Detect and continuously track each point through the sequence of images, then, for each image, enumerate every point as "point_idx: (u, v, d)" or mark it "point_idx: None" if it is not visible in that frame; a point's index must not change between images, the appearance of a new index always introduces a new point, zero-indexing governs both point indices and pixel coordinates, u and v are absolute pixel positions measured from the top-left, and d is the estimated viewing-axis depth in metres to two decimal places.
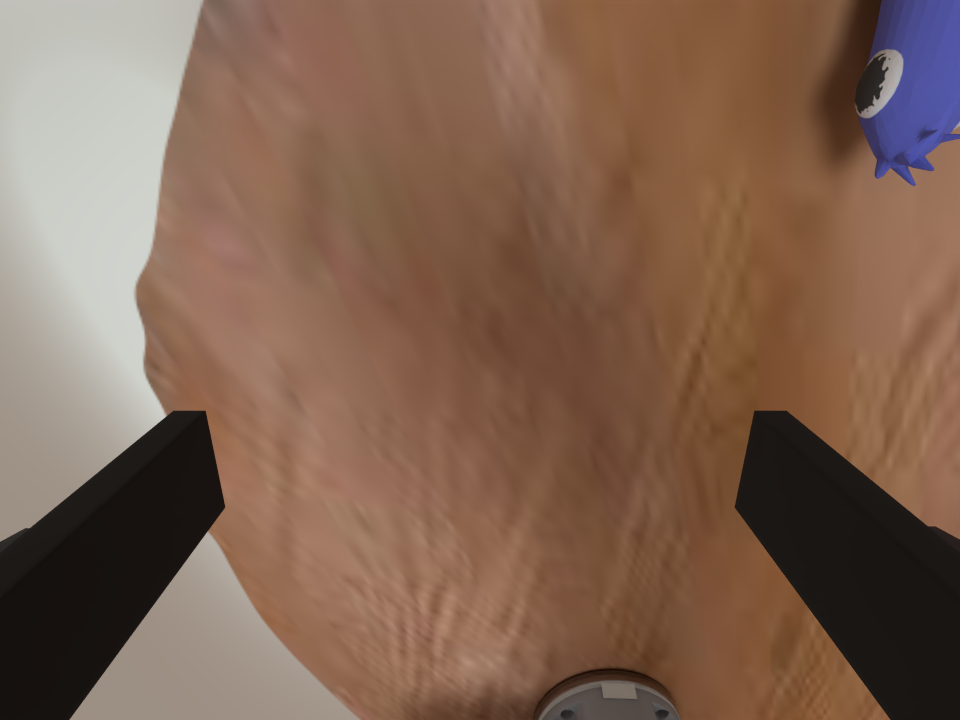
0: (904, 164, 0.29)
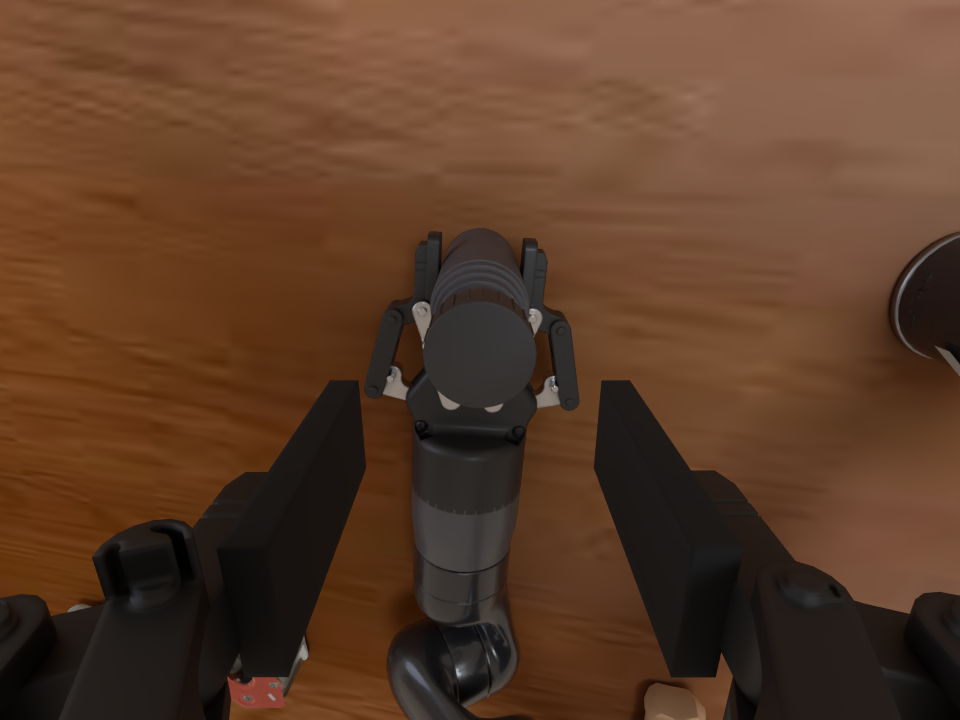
0: None
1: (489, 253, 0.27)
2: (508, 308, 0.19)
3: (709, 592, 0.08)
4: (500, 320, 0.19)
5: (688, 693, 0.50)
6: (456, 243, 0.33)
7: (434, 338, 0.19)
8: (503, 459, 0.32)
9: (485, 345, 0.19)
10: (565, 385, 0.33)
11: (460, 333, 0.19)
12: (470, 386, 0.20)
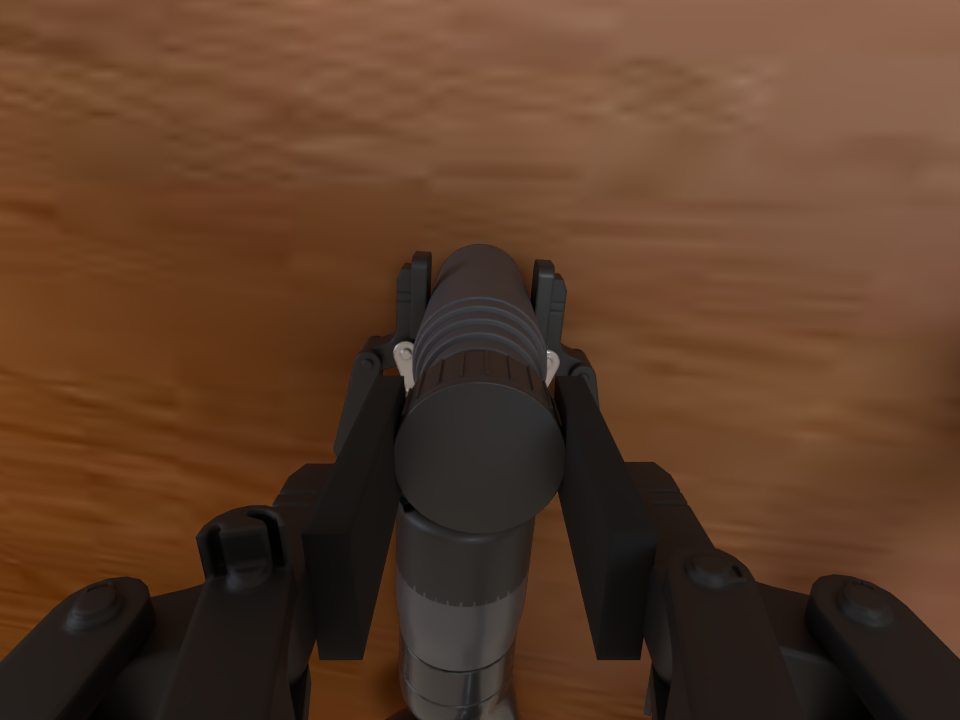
0: None
1: (492, 285, 0.20)
2: (524, 390, 0.12)
3: (628, 576, 0.09)
4: (511, 409, 0.12)
5: None
6: (450, 265, 0.26)
7: (410, 435, 0.13)
8: (509, 538, 0.26)
9: (487, 445, 0.13)
10: None
11: (448, 428, 0.12)
12: (465, 503, 0.13)
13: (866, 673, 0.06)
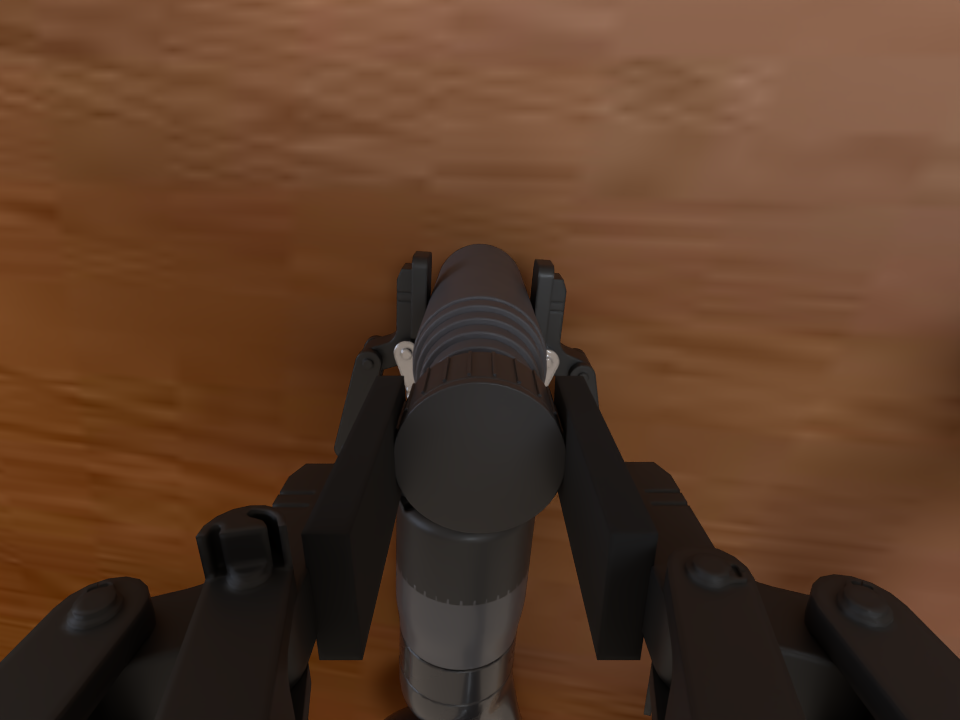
0: None
1: (492, 284, 0.20)
2: (400, 426, 0.13)
3: (628, 576, 0.09)
4: (418, 438, 0.13)
5: None
6: (450, 265, 0.26)
7: (454, 520, 0.13)
8: (509, 537, 0.26)
9: (460, 457, 0.13)
10: None
11: (443, 490, 0.13)
12: (529, 473, 0.13)
13: (866, 673, 0.06)
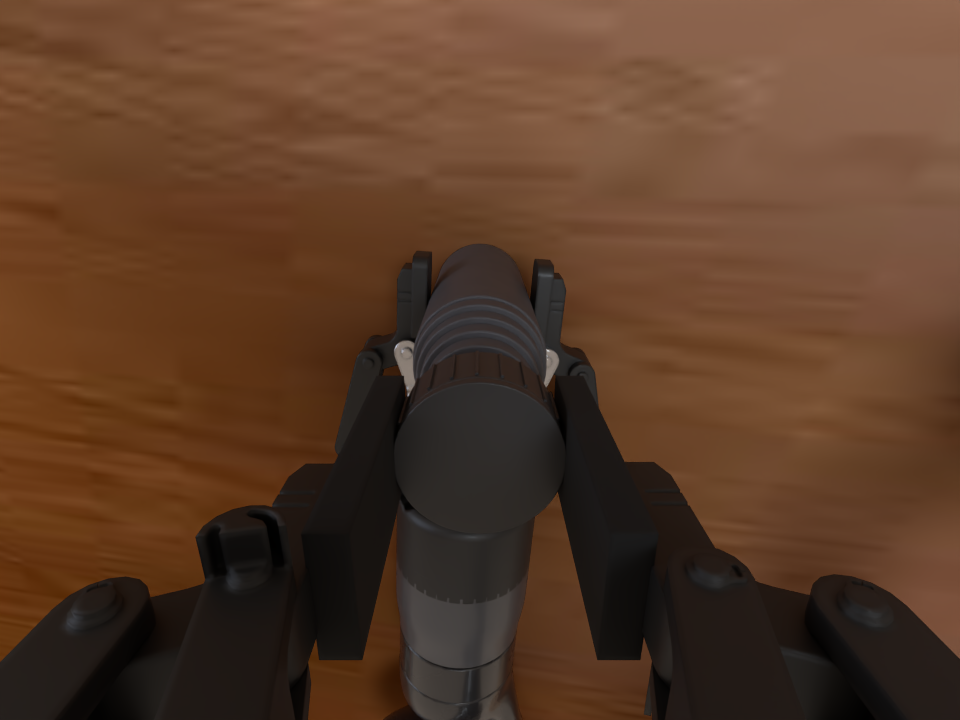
0: None
1: (492, 284, 0.20)
2: None
3: (628, 576, 0.09)
4: (456, 514, 0.13)
5: None
6: (450, 264, 0.26)
7: (549, 481, 0.13)
8: (509, 536, 0.26)
9: (474, 479, 0.13)
10: None
11: (513, 492, 0.13)
12: (489, 417, 0.12)
13: (866, 673, 0.06)
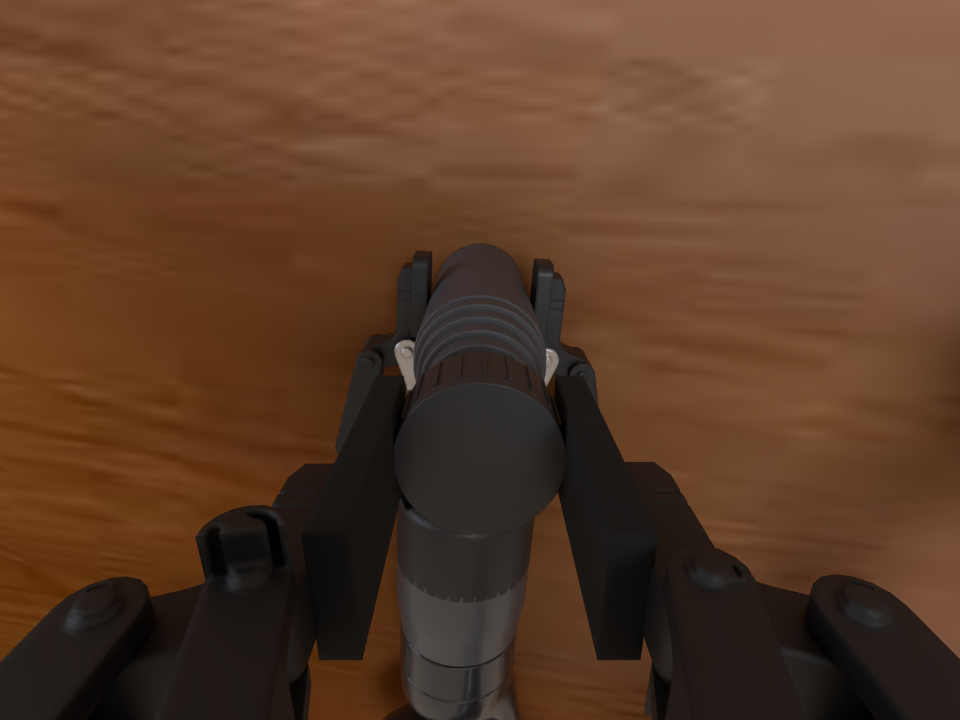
0: None
1: (492, 283, 0.20)
2: None
3: (628, 576, 0.09)
4: (541, 480, 0.13)
5: None
6: (450, 264, 0.27)
7: (498, 397, 0.12)
8: (509, 535, 0.26)
9: (499, 467, 0.13)
10: None
11: (513, 430, 0.12)
12: (428, 457, 0.13)
13: (866, 673, 0.06)
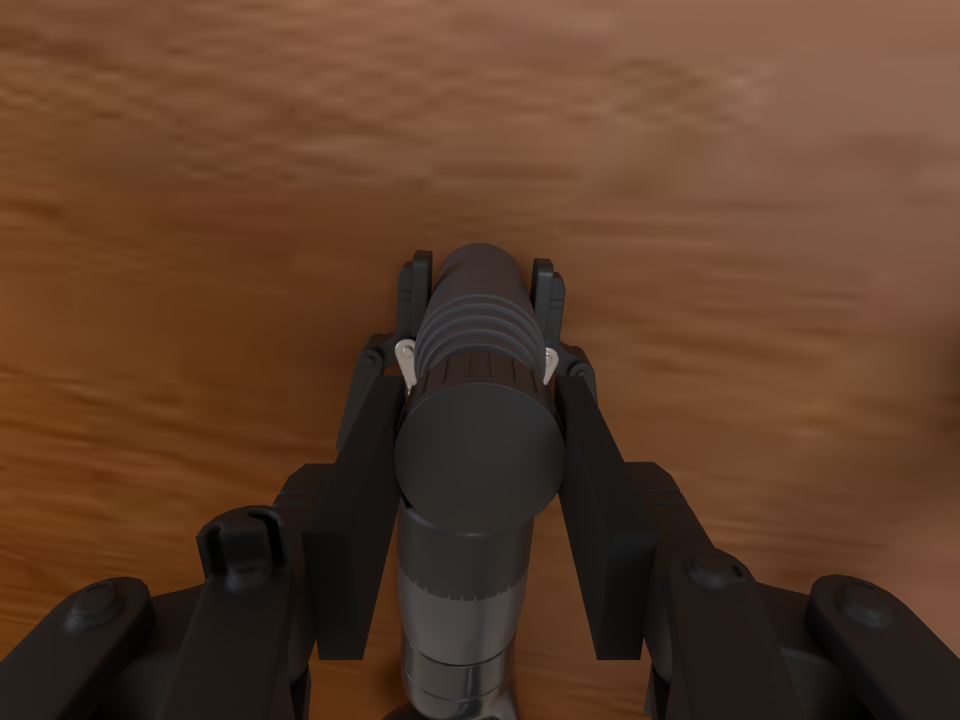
0: None
1: (492, 283, 0.20)
2: (505, 384, 0.12)
3: (628, 577, 0.09)
4: (497, 404, 0.12)
5: None
6: (450, 264, 0.27)
7: (406, 450, 0.13)
8: (509, 533, 0.26)
9: (483, 445, 0.13)
10: None
11: (441, 435, 0.13)
12: (476, 505, 0.13)
13: (866, 673, 0.06)
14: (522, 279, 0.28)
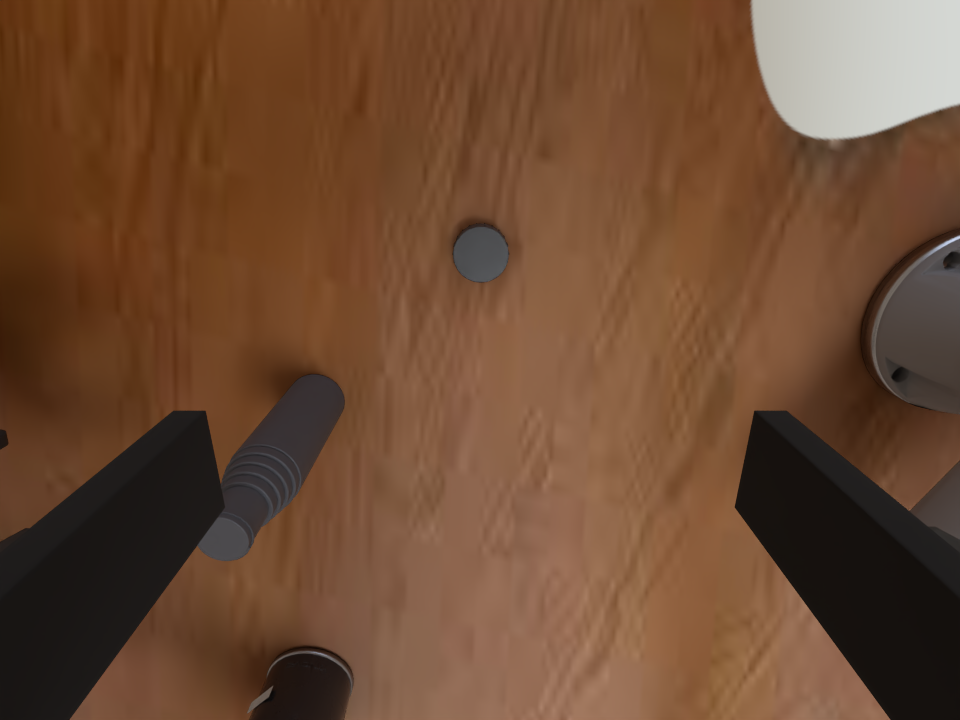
0: None
1: (309, 468, 0.38)
2: (488, 227, 0.40)
3: None
4: (486, 234, 0.40)
5: None
6: (326, 404, 0.43)
7: (457, 250, 0.40)
8: None
9: (481, 248, 0.40)
10: None
11: (468, 245, 0.40)
12: (479, 271, 0.41)
13: None
14: None
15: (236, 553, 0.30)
